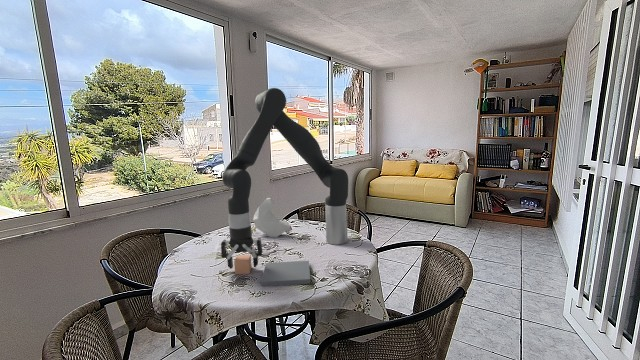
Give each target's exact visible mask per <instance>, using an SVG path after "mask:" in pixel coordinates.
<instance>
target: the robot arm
mask: <svg viewBox="0 0 640 360" xmlns="http://www.w3.org/2000/svg"><path fill="white" fill-rule="evenodd" d="M254 103H255V104H254V105H255V107H256V109H257V111H258V113H259V115H258V116H257V118H256V120H255V122H254V123H253V125H252V126H251V128H249V130H248V131H247V133H246V134H245V135H244V138H243V140H242V141H241V143H240V145H239V148H238V150H237V152H236V154H235V156H234V157H232V159H231V161H230V162H229V163H228V164H227V167H226V168H224V171H223V173H222V183H223V185H224V186H225V187H227V188H229V189H232V195H231V196H229V197H228V199H227V205H228V206H227V208H228V229H229V230H228V231H229V240H226V239H223V240H222V241H221V242H220V243H221V245H220V249H221V250H220V251H221V252H220V255H221V258H223V259H224V258H225V259H227V266H228V268H229V269H230V270H231V269H233V267H234V260H233V256H234V254H235V253H237V254H238V253H248V254H249V255H251V257H252V260H253V261H252V262H253V264H252V265H253V268H256V267H257V266H258V264H259V257H261V256H262V254H263V251H264V250H263V244H262V239H261V237H258V238H256V239H253V237H252V236H253V233H251V229H252V223H251V222H252V221H251V214H250V213H251V212H250V206H249V205H250V204H249V203H250V202H249V199H250V194H251V189H252V178H251V175H250V173H249V172H248V171H247V169H248V168H249V167H252V166H254V165H255V164H256V161H257V159H258V156H259V155H260V153H261V150H262V148H263V146H264V144H265V141H266V140H267V137H268V135H269V134H270V131H271V130H272V128H273V127H274V128H275V129H276V130H277V131H278V132H279V133H280V135H281V136H282V137H283V138H284V139H285V140H286V141H287V142H288V143H289V145H290V146H291V147H292V148H293V149H294V151H296V153H297V155H299V156H300V157H301V158H302V160H303V161H305V163H306V164H307V165H308V166H309V167H310V168H311V169H312V170H313V172H314V173H315V174H316V176H317V177H318V178H319V180H320V181H321V183H322V184H323V185H324V186H325V187H327V188H329V195H328V196H326V198H324V199H325V201H324V203H325V204H324V206H325V207H324V208H325V209H324V210H325V239H326V243H327V244H329V245H344V244H347V243H348V238H349V237H348V221H347V200H348V198H349V175H348V173H347V171H346V170H345V169H343V168H339V167H334V166H333V165H332V164H331V163H330V162H328V160H327V159H326V158H325V156H324V154H323V153H322V149H321V146H320V143H319V142H318V141H317V139H316V138H315V136H314V135H313V134H312V133H311V132H310V131H309V130H308V129H307V128H306V127H304V126H303V125H301V124H299V123H298V122H296V121H295V120H293V119H291V117H289V116H288V115H287V113H285V111H284V110H285V108H286V106H287V96H286V95H285V93H284V92H283V90H281V89H280V88H277V87H271V88H267V89H266V90H264V91H262V92H260V93H258V94H257V95H256V97H255V101H254ZM253 244H254V245H255V246H257V247H256V248H257V250H256V249H255V248H254V246H253ZM228 246H230V247H231V250H230V251H229V252H228V253H227V247H228Z"/></svg>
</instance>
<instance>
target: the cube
mask: <svg viewBox="0 0 640 360" xmlns="http://www.w3.org/2000/svg"><path fill="white" fill-rule="evenodd" d="M252 265H253V264H252V255H251V254H238V255H236V257H235V258H234V260H233V267H234V274H235V275H243V274H244V275H246V274H250V272H251V270H252V267H253V266H252Z"/></svg>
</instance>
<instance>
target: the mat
mask: <svg viewBox="0 0 640 360" xmlns="http://www.w3.org/2000/svg"><path fill="white" fill-rule="evenodd" d="M260 283H261V284H260V286H261V287H269V286H270V287H271V286H286V285H289V286H290V285H304V284H311V273H310V261H309V260H299V261H298V260H296V261H280V262H278V261H277V262H266V263H265V265H264V269H263V273H262V277H261V281H260Z"/></svg>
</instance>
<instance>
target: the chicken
mask: <svg viewBox="0 0 640 360" xmlns="http://www.w3.org/2000/svg"><path fill="white" fill-rule="evenodd" d="M274 203H275V200H273V198H272V197H267V198H266V199H265V200H264V201H263V202H262V203H261V204H260V205H258V207H257V209H256V210H255V212H254V215H253V224H254V225H252V226H253V228H251V233H252V235H255V233H257V230H258V231H260V232H262V233H263V234H265V235H266V236H267V237H269V238H271V237H272V238H277V237H279V236H281V235H282V234H284V233H287V234H289V233H290V232H291V231H293V228H292V226H291V225H290V224H289V222H286V221H283V220H280V219H279V218H278V216H276V215H275V214H274V213H273V212H272V211H271V210H272V208H273V205H274ZM256 229H257V230H256Z"/></svg>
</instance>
